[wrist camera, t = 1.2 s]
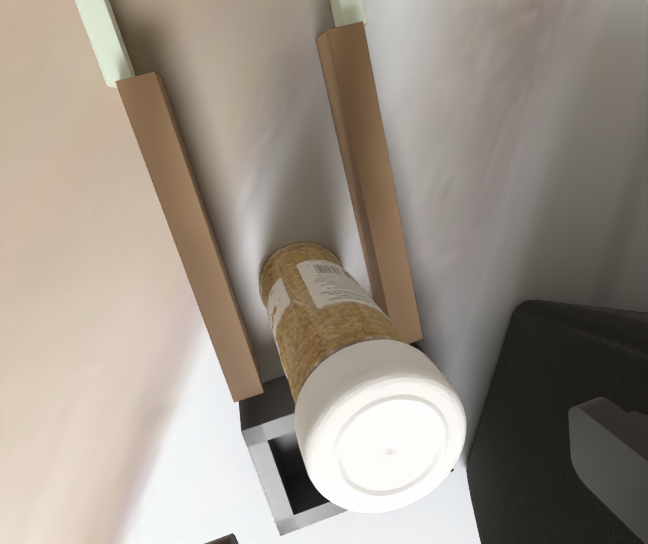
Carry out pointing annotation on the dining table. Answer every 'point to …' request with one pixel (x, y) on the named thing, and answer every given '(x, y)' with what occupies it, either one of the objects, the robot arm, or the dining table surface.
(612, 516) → the flower pot
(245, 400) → the bin
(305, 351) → the sprinkles bottle
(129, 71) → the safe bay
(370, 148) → the channel
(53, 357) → the dining table surface
